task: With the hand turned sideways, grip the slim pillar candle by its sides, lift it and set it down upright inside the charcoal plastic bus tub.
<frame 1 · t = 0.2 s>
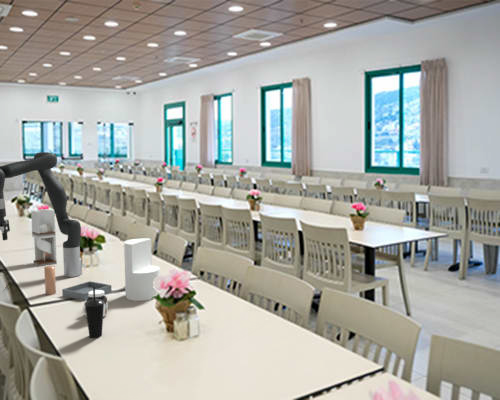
hand: (0, 239, 252), 29 cm above the table, tool pointing down, fingers open, 8 cm apart
bus tub: (87, 293, 257), on the table
display case: (45, 264, 324), on the table
pillar candle: (50, 293, 258), on the table
drinking cup: (95, 336, 199), on the table
spread jar: (94, 317, 222), on the table
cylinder: (143, 295, 254), on the table
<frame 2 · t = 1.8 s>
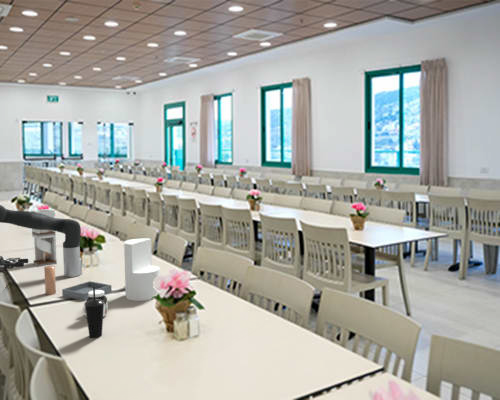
hand: (26, 262, 254), 17 cm above the table, tool horizontal, fingers open, 8 cm apart
nothing on the table moved.
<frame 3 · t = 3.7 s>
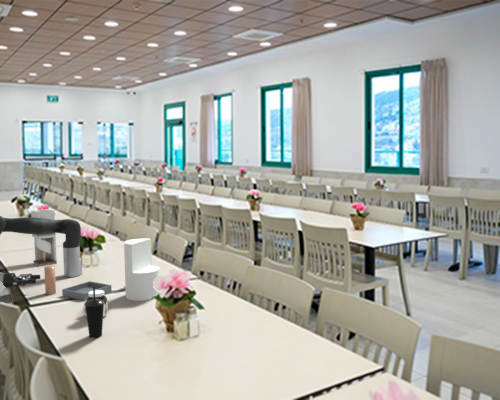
hand: (38, 279, 256), 8 cm above the table, tool horizontal, fingers open, 8 cm apart
nothing on the table moved.
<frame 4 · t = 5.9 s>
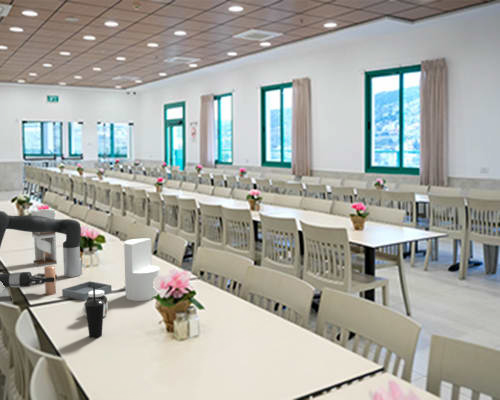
hand: (55, 278, 257), 8 cm above the table, tool horizontal, fingers closed on pillar candle, 5 cm apart
pillar candle: (50, 293, 258), on the table, touching gripper
everything else where it was.
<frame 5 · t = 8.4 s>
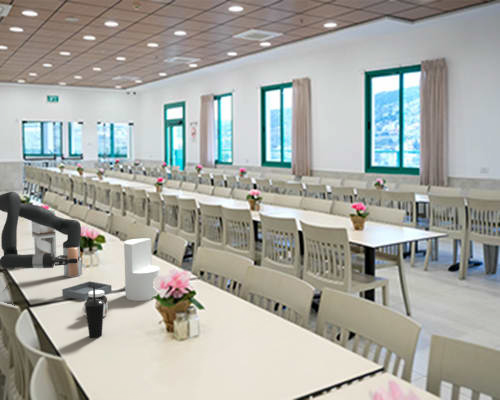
hand: (78, 259, 255), 18 cm above the table, tool horizontal, fingers closed on pillar candle, 5 cm apart
pillar candle: (73, 275, 256), point 10 cm above the table, touching gripper
everything else where it was.
when the fingers open (10 cm above the table, at t = 11.2 s): pillar candle drops 1 cm, resting on bus tub.
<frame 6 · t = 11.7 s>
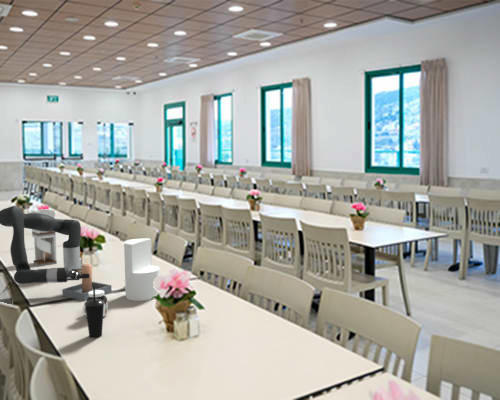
hand: (90, 273, 256), 10 cm above the table, tool horizontal, fingers open, 8 cm apart
pillar candle: (87, 291, 257), point 1 cm above the table, touching bus tub
everything else where it was.
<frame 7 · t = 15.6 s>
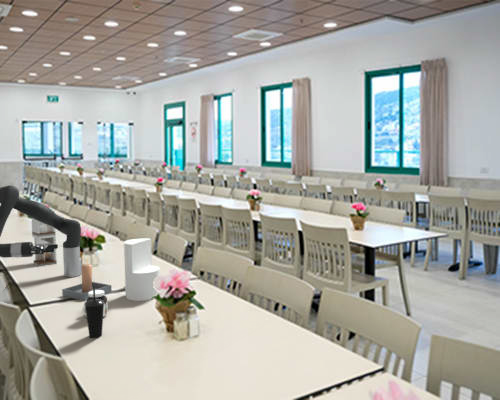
hand: (55, 248, 253), 24 cm above the table, tool horizontal, fingers open, 8 cm apart
nothing on the table moved.
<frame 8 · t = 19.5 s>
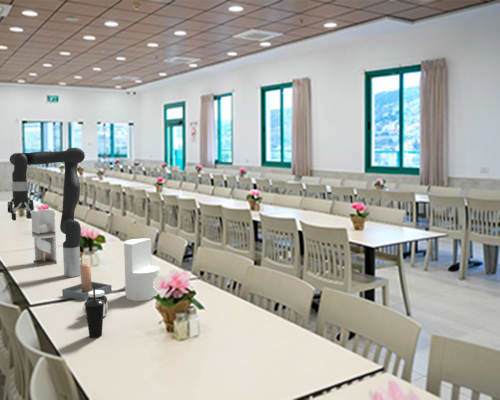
hand: (21, 219, 272), 36 cm above the table, tool pointing down, fingers open, 8 cm apart
nothing on the table moved.
at the end: pillar candle inside the target area on the bus tub (0.1 cm from its centre), point 1.1 cm above the bus tub's base; pillar candle tilted 2°; the gripper is holding nothing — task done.
